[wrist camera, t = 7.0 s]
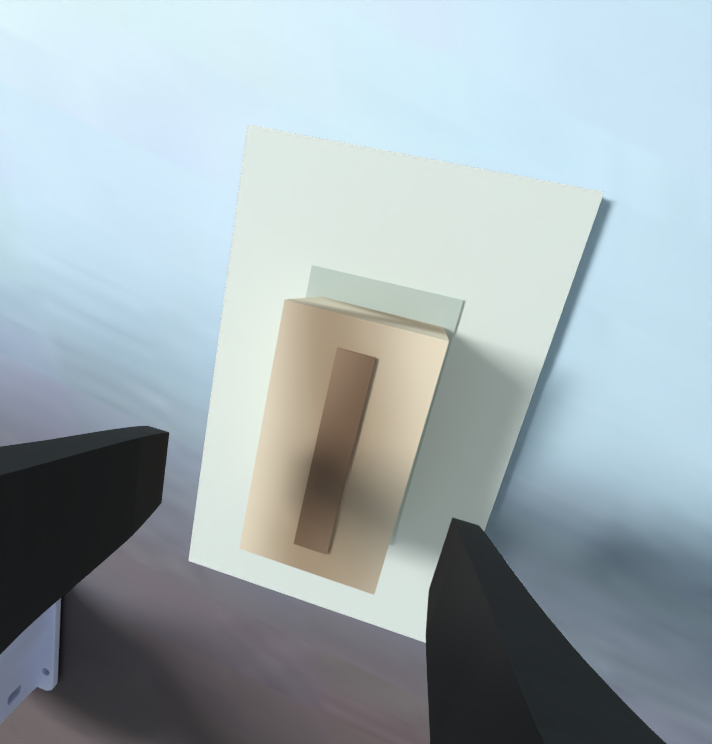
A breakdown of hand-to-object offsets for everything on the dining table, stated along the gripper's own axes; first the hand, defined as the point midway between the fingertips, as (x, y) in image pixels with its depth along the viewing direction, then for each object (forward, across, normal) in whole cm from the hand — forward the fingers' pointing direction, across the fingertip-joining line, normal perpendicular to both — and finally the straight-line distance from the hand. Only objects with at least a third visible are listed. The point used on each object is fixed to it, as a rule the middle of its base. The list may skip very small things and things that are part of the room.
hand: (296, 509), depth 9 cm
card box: (+7, 0, 0) cm, 7 cm away
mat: (+8, 0, 0) cm, 8 cm away
